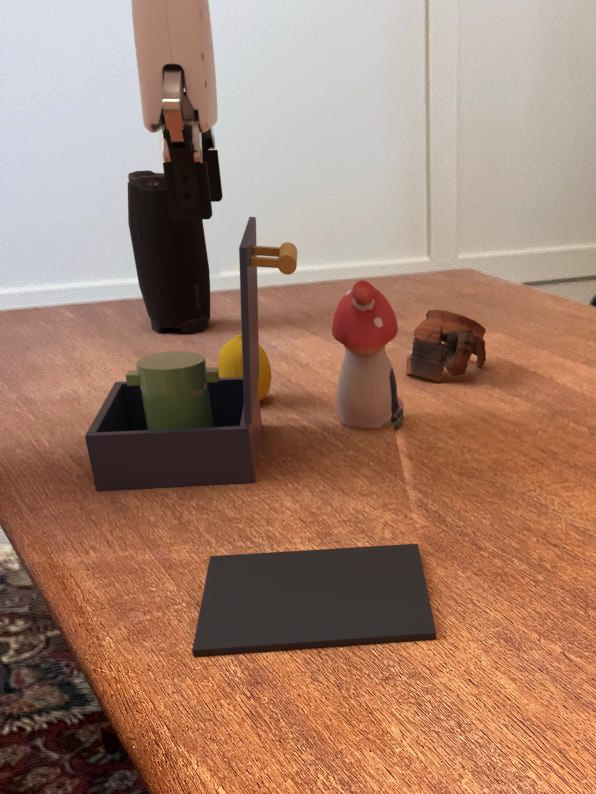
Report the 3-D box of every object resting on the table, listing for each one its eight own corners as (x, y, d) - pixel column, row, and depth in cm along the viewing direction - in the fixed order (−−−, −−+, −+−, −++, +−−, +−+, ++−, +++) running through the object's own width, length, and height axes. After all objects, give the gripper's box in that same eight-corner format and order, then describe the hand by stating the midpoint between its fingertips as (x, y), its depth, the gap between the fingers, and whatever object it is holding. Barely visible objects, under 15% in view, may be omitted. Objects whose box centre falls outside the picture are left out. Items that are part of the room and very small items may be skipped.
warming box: (97, 499, 88) (84, 435, 85) (125, 438, 102) (114, 381, 99) (256, 491, 90) (248, 428, 87) (263, 432, 103) (256, 375, 100)
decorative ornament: (386, 442, 101) (379, 286, 93) (324, 437, 102) (311, 282, 94) (413, 413, 108) (408, 266, 101) (355, 408, 110) (346, 263, 102)
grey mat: (193, 656, 66) (192, 650, 66) (210, 561, 78) (210, 555, 78) (436, 639, 68) (436, 632, 68) (417, 548, 80) (417, 543, 80)
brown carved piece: (388, 373, 123) (408, 306, 122) (454, 399, 127) (474, 335, 127) (429, 372, 112) (451, 299, 112) (499, 400, 117) (521, 331, 116)
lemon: (214, 415, 108) (203, 339, 104) (236, 399, 112) (227, 326, 108) (262, 419, 107) (253, 343, 103) (283, 403, 111) (275, 329, 107)
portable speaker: (139, 325, 141) (113, 171, 131) (205, 317, 145) (184, 167, 135) (156, 339, 134) (130, 178, 124) (225, 330, 139) (205, 173, 129)
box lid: (238, 247, 80) (295, 251, 80) (249, 216, 93) (297, 219, 94) (244, 424, 87) (296, 426, 88) (253, 372, 100) (298, 374, 101)
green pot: (137, 469, 92) (119, 371, 88) (146, 446, 97) (129, 352, 93) (226, 464, 93) (213, 367, 89) (230, 442, 98) (218, 349, 94)
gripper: (133, -35, 81) (164, 195, 90) (92, -50, 67) (134, 227, 76) (228, -33, 82) (250, 195, 91) (209, -47, 68) (237, 226, 76)
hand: (198, 209), depth 83 cm, fingers open, 9 cm apart
